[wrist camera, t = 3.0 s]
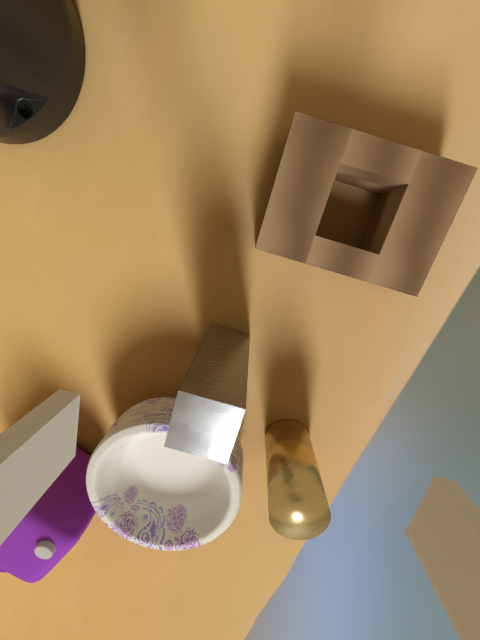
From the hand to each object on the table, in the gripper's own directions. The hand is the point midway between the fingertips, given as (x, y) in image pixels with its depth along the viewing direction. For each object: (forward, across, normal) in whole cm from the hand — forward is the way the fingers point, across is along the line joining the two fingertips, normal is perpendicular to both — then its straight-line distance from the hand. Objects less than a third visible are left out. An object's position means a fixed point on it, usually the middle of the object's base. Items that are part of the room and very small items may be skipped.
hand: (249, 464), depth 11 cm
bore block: (+20, +6, +12) cm, 24 cm away
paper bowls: (+21, -5, -17) cm, 27 cm away
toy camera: (+21, -18, -27) cm, 39 cm away
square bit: (+20, -2, -4) cm, 21 cm away
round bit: (+20, +7, -13) cm, 26 cm away
